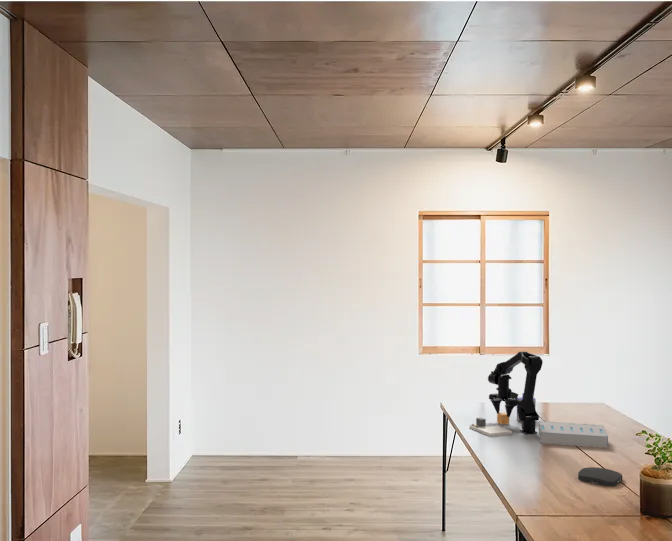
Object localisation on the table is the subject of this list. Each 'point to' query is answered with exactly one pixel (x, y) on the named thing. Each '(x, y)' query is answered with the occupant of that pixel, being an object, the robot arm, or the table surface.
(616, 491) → the table surface
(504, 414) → the cap
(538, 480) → the table surface
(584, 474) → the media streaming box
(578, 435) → the warehouse
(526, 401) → the robot arm
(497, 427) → the board
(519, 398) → the ink cartridge box
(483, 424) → the block
